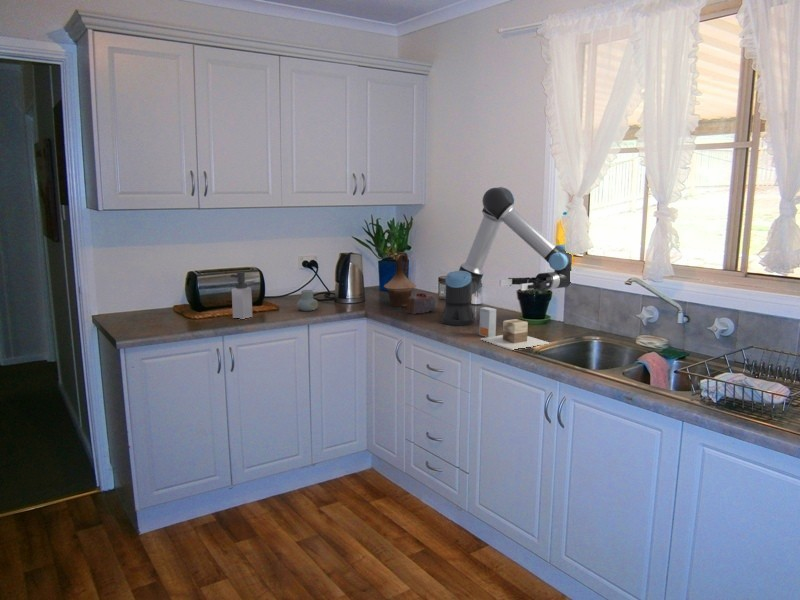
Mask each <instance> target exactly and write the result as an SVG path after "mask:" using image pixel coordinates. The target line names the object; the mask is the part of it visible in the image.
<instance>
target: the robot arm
mask: <svg viewBox="0 0 800 600" xmlns="http://www.w3.org/2000/svg"><path fill="white" fill-rule="evenodd" d="M514 196H515V195H514V194H513V192H512V191H510V190H509V189H508V188H506V187H503V186H501V187H500V186H498V187H492V188H489V189H488V190H486V191H485V192H484V194H483V197H482V201H481V202H482V206H483V208H482V211H481V212H482V215H483V216H482V219H481V222H480V224H479V228H478V230H477V232H476V235H475V236H474V240H473V242H472V244H471V247H470V250H469V252H468V255H467V258H466V260H465V262H463V263H461V264H460V267H459V269H458V270H454V271H450V272H448V273H447V274H446V276H445V307H444V309H443V312H442V316H441V323H443V324H445V325H450V326H469V325H473V324H475V317H474V313H473V310H472V307H471V305H472V304H471V302H472V295H473V294H475V293H477V292H478V291H479V290H480V288H481V286H482V279H483V276H484V274H485V272H484V270H483V269H484V265H485V263H486V261H487V258H488V255H489V253H490V250H491V249H492V246H493V243H494V241H495V239H496V235H497V233H498V231H499V228H500V225H501V223H504V224H505V225H506V226H507V227H508V228H509V229H511V231H512V232H514V233H515V234H516V235H517V236H518V237H520V238H521V239H522V240H523V241H524V242H525V243H526V244H527V245H528V246H529V247H530V248H532V250H534V251H535V252H536V253H537V254H538V255H540V257H542V258H543V259H544V260H545V261H546V262H547V263H548V265H549V267H550V268H551V269H552V270H554V271H549V272H548V271H547V272H542V273H538V274H537V275H535V276H534V277H533V276H532V277H508V279H507V278H505V279H499V287H505V286H506V287H507V286H510V287H511V286H513V285H520V291H531V290H537V289H538V290H539V291H544V290H545V291H547V290H549V291H553V289H563V288H569V286H570V285H571V282H570V271H572V263H573V262H572V261H573V254H572V255H571V254H569V253H566V251H565V245H566V244H556V245H555V244H554V243H553V241H551V240H550V239H549V238H548V237H547V236H545V234H544V233H542V232H541V230H539V229H538V228H537V227H536V226H535V225H534V224H532V223H531V222H530V221H529V220H528V219H527V218H526V217H524V216H523V214H521V213H520V212H519V211H518V210H517V209H516V208H515V197H514ZM570 287H571V286H570Z"/></svg>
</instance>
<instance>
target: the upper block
mask: <svg viewBox="0 0 800 600" xmlns="http://www.w3.org/2000/svg"><path fill="white" fill-rule="evenodd" d="M528 324H529V321H526V320H525V321H524V320H521V319H517V318H514V319H508V320H507V319H506V320H503V321H502V332H503V331H507V332H510V333H513V334H517V333H523V332H527V333H528V329H529V328H528V326H529V325H528Z"/></svg>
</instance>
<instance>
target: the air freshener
mask: <svg viewBox="0 0 800 600" xmlns="http://www.w3.org/2000/svg"><path fill="white" fill-rule="evenodd" d="M300 292H301V298H300V299H299V300H297V303H296V307H297V308H298V310H300V311H303V312H312V310H313V311H315V310H316V309H317V308H318V306H319V301H318V300H317V299H315V298H314V291H313V290H312V289H303V290H301V291H300Z"/></svg>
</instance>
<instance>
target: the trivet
mask: <svg viewBox="0 0 800 600" xmlns="http://www.w3.org/2000/svg"><path fill="white" fill-rule="evenodd" d="M482 340H483V341H482ZM480 341H482V342H485V341H486V343H488V342H489V343H488V344H491V343H492V344H491V345H495V346H498V347H499V348H500V347H501V348H504V349H507V350H509V351H512V350H514V349H518V348H525V349H527V348H526V347H531V348H534V347H533V346H537V345H542V346H545V345H544V344H548V345H550V344H549V343H550V342H549V341H546V340H542V339H539V338H535V337H534V336H529V335H527V341H526V342H520V343H511V342H508V341H505V340H503V334H500V335H499V334H498V335H495V336H493V337H481V338H480ZM537 347H538V346H537ZM514 351H515V350H514Z"/></svg>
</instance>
